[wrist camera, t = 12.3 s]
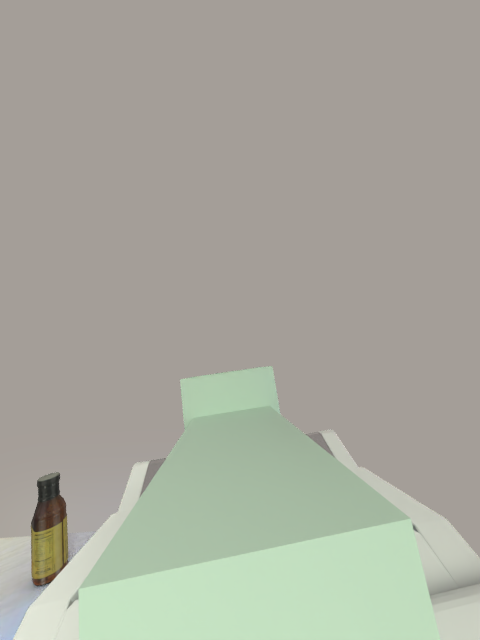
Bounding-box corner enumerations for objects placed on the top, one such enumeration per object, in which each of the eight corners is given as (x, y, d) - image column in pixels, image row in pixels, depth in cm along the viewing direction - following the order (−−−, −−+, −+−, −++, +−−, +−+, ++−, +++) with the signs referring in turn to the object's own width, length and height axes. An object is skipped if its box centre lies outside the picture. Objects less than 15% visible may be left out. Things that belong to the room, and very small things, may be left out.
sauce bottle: (51, 564, 56) (51, 469, 59) (75, 563, 55) (74, 467, 59) (21, 590, 49) (24, 482, 53) (48, 589, 48) (49, 480, 52)
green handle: (268, 434, 18) (257, 367, 19) (537, 838, 2) (404, 354, 3) (201, 446, 18) (194, 376, 19) (21, 1015, 2) (35, 409, 3)
